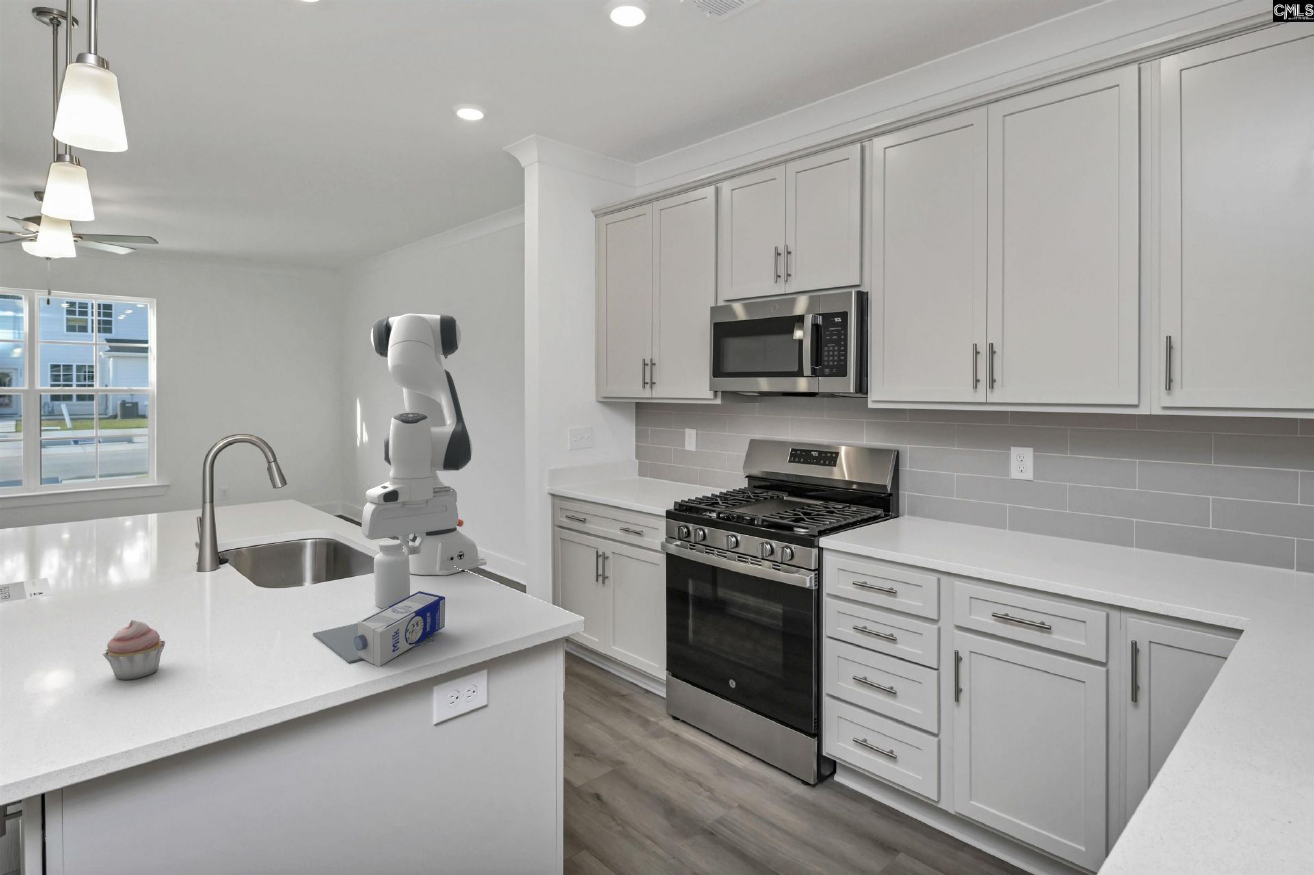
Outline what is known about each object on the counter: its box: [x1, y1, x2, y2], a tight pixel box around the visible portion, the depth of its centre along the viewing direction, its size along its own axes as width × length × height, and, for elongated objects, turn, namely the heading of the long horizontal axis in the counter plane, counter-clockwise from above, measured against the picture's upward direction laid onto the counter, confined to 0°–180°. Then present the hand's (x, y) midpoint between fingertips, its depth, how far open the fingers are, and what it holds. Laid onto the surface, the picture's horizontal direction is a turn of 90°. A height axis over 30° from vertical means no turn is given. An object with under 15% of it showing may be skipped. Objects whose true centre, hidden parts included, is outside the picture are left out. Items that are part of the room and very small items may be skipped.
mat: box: [312, 622, 434, 664], centre depth 148 cm, size 17×20×1 cm
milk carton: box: [354, 590, 446, 668], centre depth 143 cm, size 7×7×20 cm
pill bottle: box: [373, 539, 411, 609], centre depth 170 cm, size 8×8×15 cm
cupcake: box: [102, 619, 167, 681], centre depth 129 cm, size 9×9×10 cm
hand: (412, 554), depth 153 cm, fingers closed
